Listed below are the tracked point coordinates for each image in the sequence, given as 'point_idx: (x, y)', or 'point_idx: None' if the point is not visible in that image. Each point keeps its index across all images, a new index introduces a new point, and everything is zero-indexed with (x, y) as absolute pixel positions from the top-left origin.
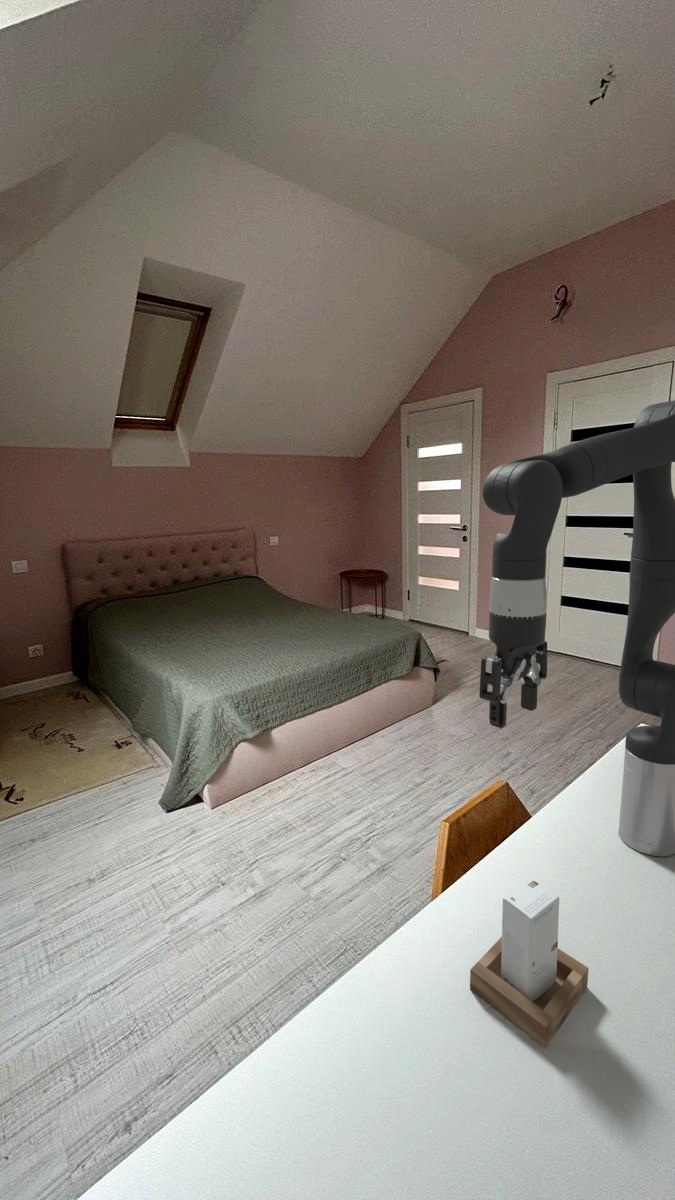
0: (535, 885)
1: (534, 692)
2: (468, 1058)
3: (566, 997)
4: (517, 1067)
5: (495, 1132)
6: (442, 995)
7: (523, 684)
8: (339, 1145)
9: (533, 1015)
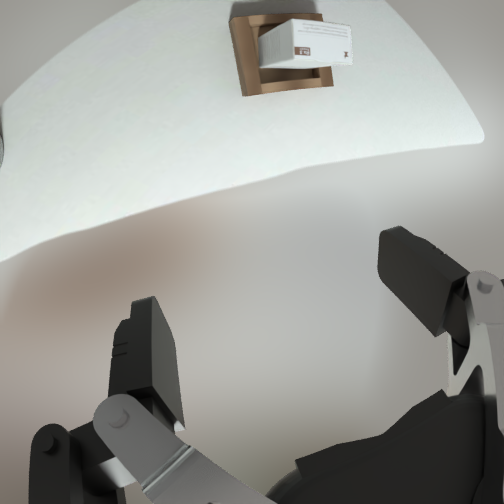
0: (302, 47)
1: (153, 364)
2: (361, 53)
3: (283, 14)
4: None
5: (376, 19)
6: (344, 97)
7: (176, 427)
8: (437, 81)
9: None
